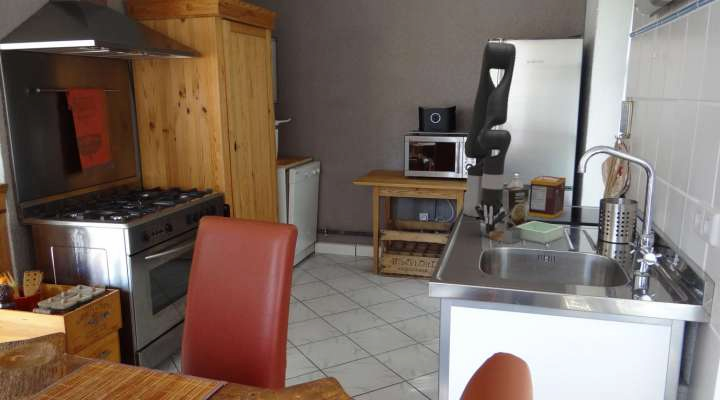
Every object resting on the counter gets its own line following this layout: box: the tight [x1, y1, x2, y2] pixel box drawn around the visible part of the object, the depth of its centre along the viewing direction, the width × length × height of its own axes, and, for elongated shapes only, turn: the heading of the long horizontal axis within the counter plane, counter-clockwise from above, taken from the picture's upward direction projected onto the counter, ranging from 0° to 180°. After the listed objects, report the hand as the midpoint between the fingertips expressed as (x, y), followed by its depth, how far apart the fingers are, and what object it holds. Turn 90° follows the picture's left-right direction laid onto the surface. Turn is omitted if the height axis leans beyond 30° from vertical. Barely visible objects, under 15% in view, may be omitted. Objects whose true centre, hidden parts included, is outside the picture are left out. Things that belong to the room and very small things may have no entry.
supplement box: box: [528, 175, 567, 220], centre depth 227 cm, size 10×15×16 cm
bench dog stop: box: [502, 227, 521, 245], centre depth 185 cm, size 3×6×4 cm, turn 134°
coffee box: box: [496, 187, 530, 230], centre depth 199 cm, size 9×6×16 cm
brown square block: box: [488, 229, 504, 243], centre depth 189 cm, size 6×6×3 cm
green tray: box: [516, 220, 564, 245], centre depth 191 cm, size 12×14×4 cm
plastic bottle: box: [506, 172, 525, 188], centre depth 211 cm, size 6×7×20 cm
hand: (489, 233), depth 192 cm, fingers closed
